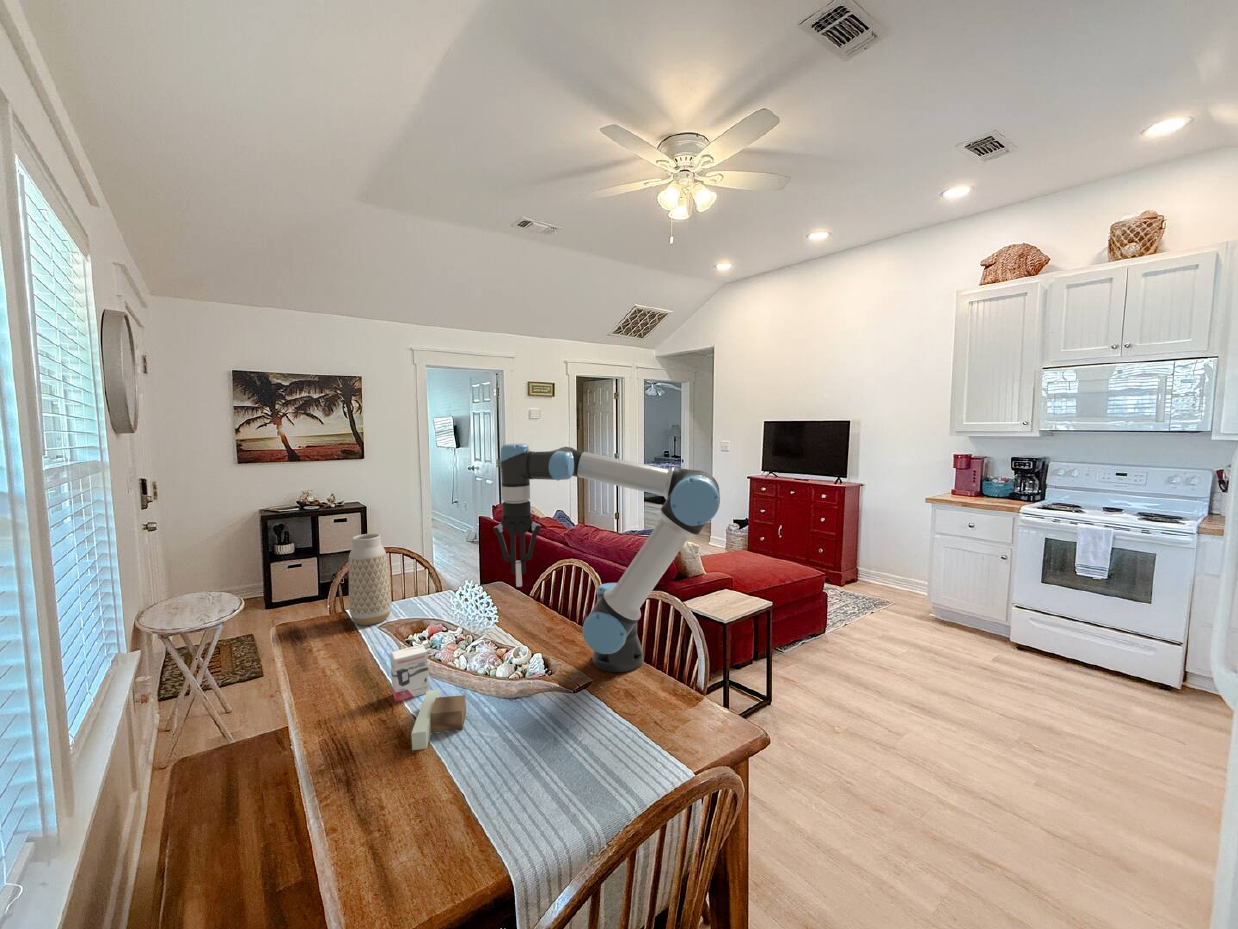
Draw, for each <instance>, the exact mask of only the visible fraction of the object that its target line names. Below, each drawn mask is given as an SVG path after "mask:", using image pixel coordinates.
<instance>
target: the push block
mask: <svg viewBox="0 0 1238 929" xmlns="http://www.w3.org/2000/svg"><path fill="white" fill-rule="evenodd" d="M466 701H467V700H466V694H464V695H450V696H442V697H441V696H440V697H438V698H436V699H435V702H434V705H433V708H432V710H431V713H430V717H431V734H438V732H440V733H446V732H445V731H450V732H456V731H455V730H460V731H463V730H464V726H465V720H466V717H465V716H467V702H466ZM463 725H464V726H463ZM436 732H437V733H436Z"/></svg>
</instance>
